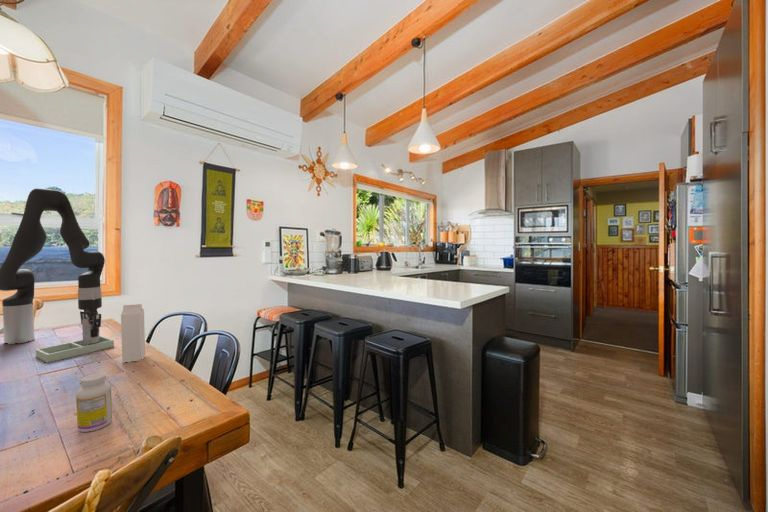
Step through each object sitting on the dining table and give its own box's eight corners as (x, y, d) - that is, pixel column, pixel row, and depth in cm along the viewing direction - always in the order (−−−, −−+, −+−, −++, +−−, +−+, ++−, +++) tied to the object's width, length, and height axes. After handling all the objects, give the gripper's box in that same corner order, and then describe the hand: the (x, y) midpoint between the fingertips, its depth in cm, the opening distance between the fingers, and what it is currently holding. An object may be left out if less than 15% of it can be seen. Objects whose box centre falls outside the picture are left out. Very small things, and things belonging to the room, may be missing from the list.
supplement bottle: (92, 418, 85) (90, 371, 85) (118, 417, 86) (117, 371, 85) (69, 434, 79) (67, 382, 78) (98, 432, 79) (96, 382, 79)
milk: (141, 361, 126) (139, 305, 124) (121, 363, 123) (120, 306, 122) (145, 356, 131) (144, 302, 130) (127, 357, 129) (125, 303, 127)
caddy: (36, 356, 129) (35, 349, 129) (101, 342, 147) (100, 335, 147) (47, 362, 123) (47, 354, 123) (113, 346, 142) (113, 339, 142)
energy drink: (103, 343, 142) (102, 316, 141) (90, 347, 137) (89, 319, 136) (92, 342, 143) (91, 315, 142) (79, 346, 137) (78, 318, 137)
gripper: (71, 297, 139) (72, 335, 140) (86, 300, 132) (87, 340, 133) (93, 294, 145) (94, 331, 146) (108, 297, 139) (109, 336, 139)
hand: (91, 335), depth 139 cm, fingers closed on energy drink, 5 cm apart
